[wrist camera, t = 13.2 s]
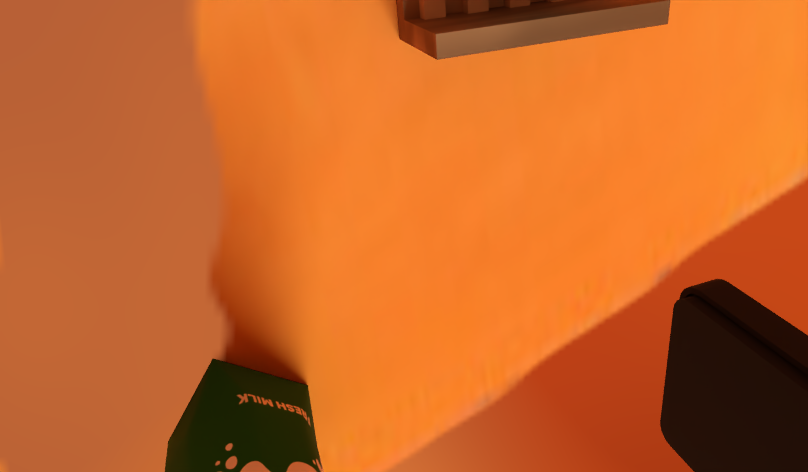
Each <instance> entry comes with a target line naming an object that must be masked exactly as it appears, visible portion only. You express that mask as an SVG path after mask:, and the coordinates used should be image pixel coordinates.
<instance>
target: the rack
mask: <svg viewBox="0 0 808 472" xmlns="http://www.w3.org/2000/svg"><path fill="white" fill-rule="evenodd" d="M669 8H670V0H397V12H398V24H399V36H400V40H402V41H404V42H406V43H408V44H410V45H411V46H413V47H415V48H417V49H419V50H420V51H422V52H424V53H426V54H428V55H430V56H431V57H433V58H435V59H437V60H438V59H445V58H451V57H458V56H464V55H471V54H477V53H483V52H490V51H496V50H503V49H509V48H516V47H522V46H529V45H535V44H542V43H548V42H554V41H561V40H567V39H574V38H580V37H587V36H593V35H600V34H606V33H613V32H619V31H625V30H632V29H638V28H645V27H651V26H658V25H664V24H668V17H669Z"/></svg>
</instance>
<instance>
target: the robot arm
mask: <svg viewBox="0 0 808 472" xmlns="http://www.w3.org/2000/svg"><path fill="white" fill-rule="evenodd" d="M660 424H661V430H662V433H663V435H664V437H665V439H666V441H667V442H668V444H669V445H670V446H671V447H672V448H673V449H674V450H675V451H676V453H677V454H678V455H679V456H680V457H681V458H682V459H683V460H684V461H685V462H686V463H687V464H688V465H689V466H690V468H691V469H692V470H693V471H694V472H808V335H806V334H805V333H803V332H802V331H800V330H799V329H797V328H796V327H794V326H793V325H791V324H790V323H788V322H787V321H785V320H784V319H782V318H781V317H779V316H778V315H776V314H775V313H773V312H772V311H770V310H769V309H767V308H766V307H764V306H763V305H761V304H760V303H759V302H757V301H756V300H754V299H753V298H751V297H749V296H748V295H746V294H745V293H744V292H742V291H741V290H739V289H738V288H736V287H735V286H733V285H732V284H730V283H729V282H727V281H725V280H722V279H715V280H711V281H708V282H705V283H701V284H698V285H694V286H691V287H688V288H686V289H684V290H683V291H682V293H681V295H680V299H679V300H677V302H676V303H675V305H674V308H673V318H672V326H671V334H670V343H669V351H668V360H667V369H666V377H665V386H664V395H663V404H662V412H661V420H660Z"/></svg>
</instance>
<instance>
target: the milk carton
mask: <svg viewBox="0 0 808 472" xmlns="http://www.w3.org/2000/svg"><path fill="white" fill-rule="evenodd" d="M165 472H324V471H323V467H322V464H321V460H320V456H319V452H318V448H317V442H316V436H315V429H314V423H313V416H312V410H311V404H310V397H309V391H308V385H305V384H301V383H298V382H294V381H290V380H287V379H283V378H280V377H276V376H273V375H269V374H266V373H262V372H259V371H255V370H252V369H248V368H244V367H241V366H237V365H234V364H230V363H227V362H223V361H220V360H216V359H212V361H211V363H210V365H209V367H208V369H207V370H206V372H205V374H204V376H203V378H202V380H201V382H200V383H199V385H198V387H197V389H196V391H195V393H194V395H193V396H192V398H191V400H190V402H189V404H188V406H187V408H186V410H185V411H184V413H183V415H182V417H181V419H180V421H179V423H178V424H177V426H176V428H175V430H174V432H173V434H172V436H171V437H170V439H169V441H168V448H167V457H166V466H165Z"/></svg>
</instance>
